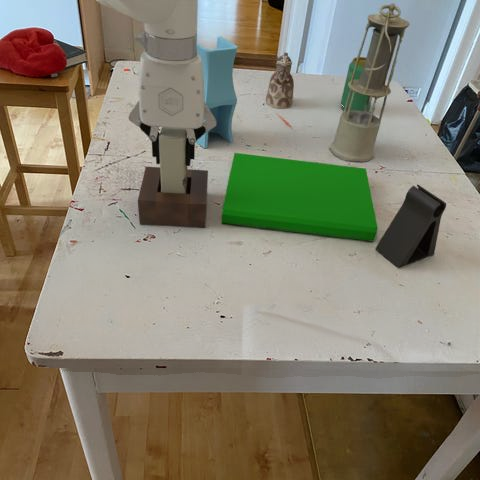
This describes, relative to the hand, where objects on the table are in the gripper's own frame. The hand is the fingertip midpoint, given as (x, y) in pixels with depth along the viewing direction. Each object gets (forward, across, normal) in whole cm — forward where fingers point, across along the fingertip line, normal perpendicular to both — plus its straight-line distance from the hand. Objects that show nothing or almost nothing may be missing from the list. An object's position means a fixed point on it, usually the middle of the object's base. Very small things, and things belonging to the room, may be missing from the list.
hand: (173, 160), depth 82 cm
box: (+8, 0, 0) cm, 8 cm away
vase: (+10, +6, +30) cm, 32 cm away
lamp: (+10, +39, +27) cm, 49 cm away
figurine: (+10, +24, +54) cm, 60 cm away
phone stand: (+10, +42, -10) cm, 44 cm away
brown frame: (+10, 0, 0) cm, 10 cm away
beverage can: (+10, +45, +54) cm, 71 cm away
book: (+10, +24, +5) cm, 27 cm away
